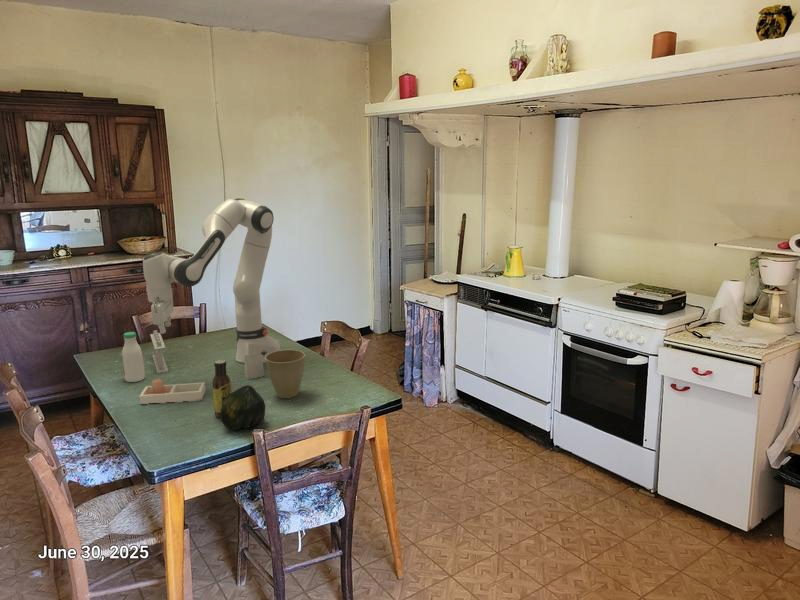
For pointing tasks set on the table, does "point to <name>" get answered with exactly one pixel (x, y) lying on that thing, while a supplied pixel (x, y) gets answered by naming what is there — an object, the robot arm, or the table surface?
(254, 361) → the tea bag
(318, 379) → the table surface
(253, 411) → the squash
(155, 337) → the test tube rack
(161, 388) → the brown egg
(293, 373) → the plant pot
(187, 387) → the sorting tray
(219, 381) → the sauce bottle
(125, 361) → the milk bottle
